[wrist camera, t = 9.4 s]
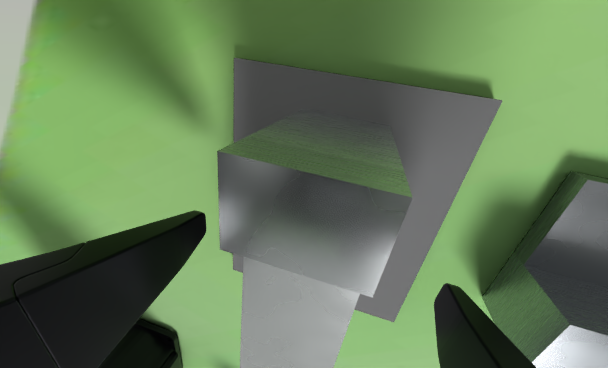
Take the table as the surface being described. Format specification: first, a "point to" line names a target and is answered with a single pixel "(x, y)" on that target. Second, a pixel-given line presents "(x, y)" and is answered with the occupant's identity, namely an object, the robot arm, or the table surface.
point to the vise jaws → (559, 281)
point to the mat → (408, 137)
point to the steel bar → (308, 230)
